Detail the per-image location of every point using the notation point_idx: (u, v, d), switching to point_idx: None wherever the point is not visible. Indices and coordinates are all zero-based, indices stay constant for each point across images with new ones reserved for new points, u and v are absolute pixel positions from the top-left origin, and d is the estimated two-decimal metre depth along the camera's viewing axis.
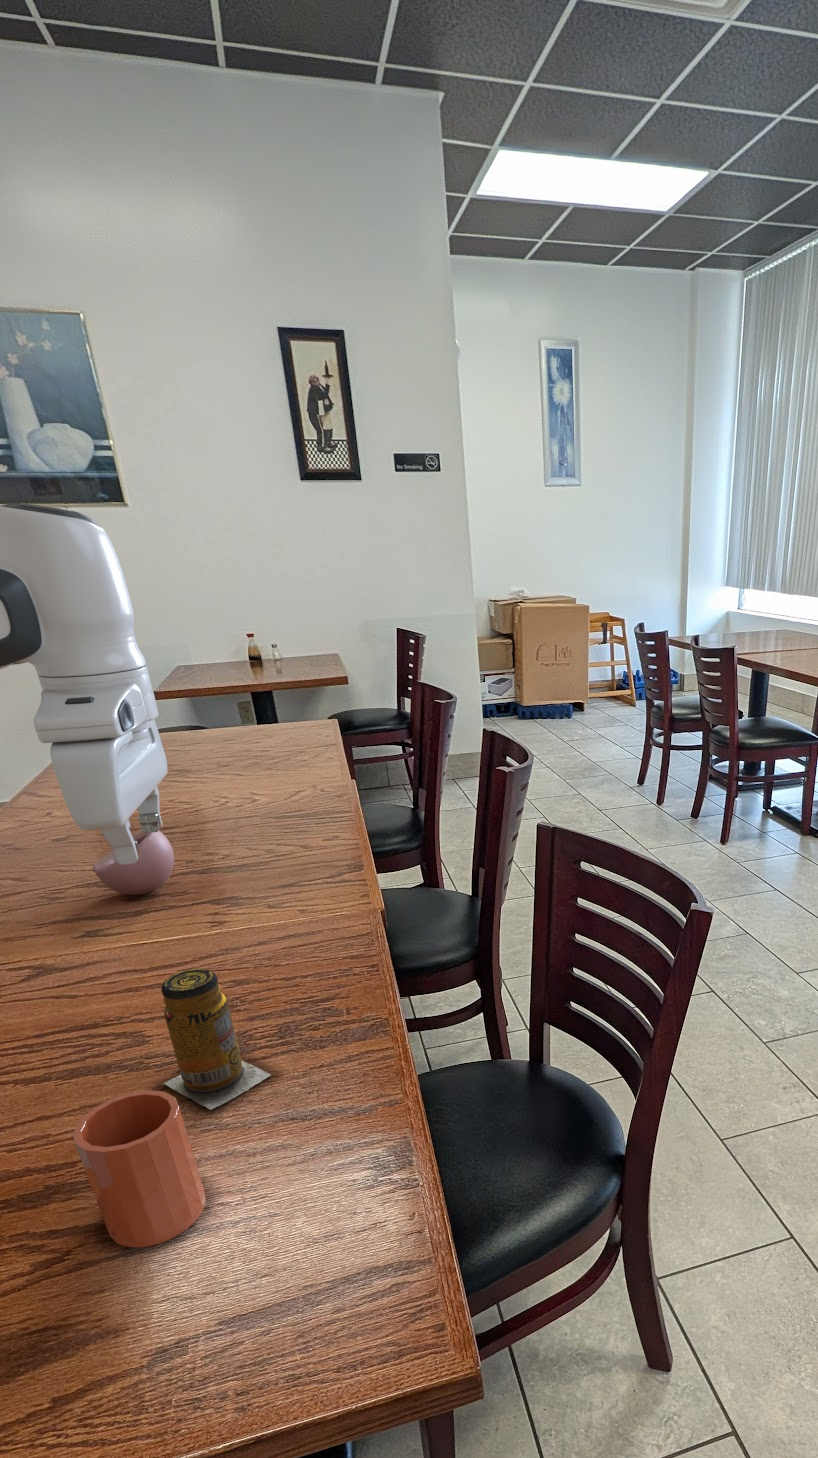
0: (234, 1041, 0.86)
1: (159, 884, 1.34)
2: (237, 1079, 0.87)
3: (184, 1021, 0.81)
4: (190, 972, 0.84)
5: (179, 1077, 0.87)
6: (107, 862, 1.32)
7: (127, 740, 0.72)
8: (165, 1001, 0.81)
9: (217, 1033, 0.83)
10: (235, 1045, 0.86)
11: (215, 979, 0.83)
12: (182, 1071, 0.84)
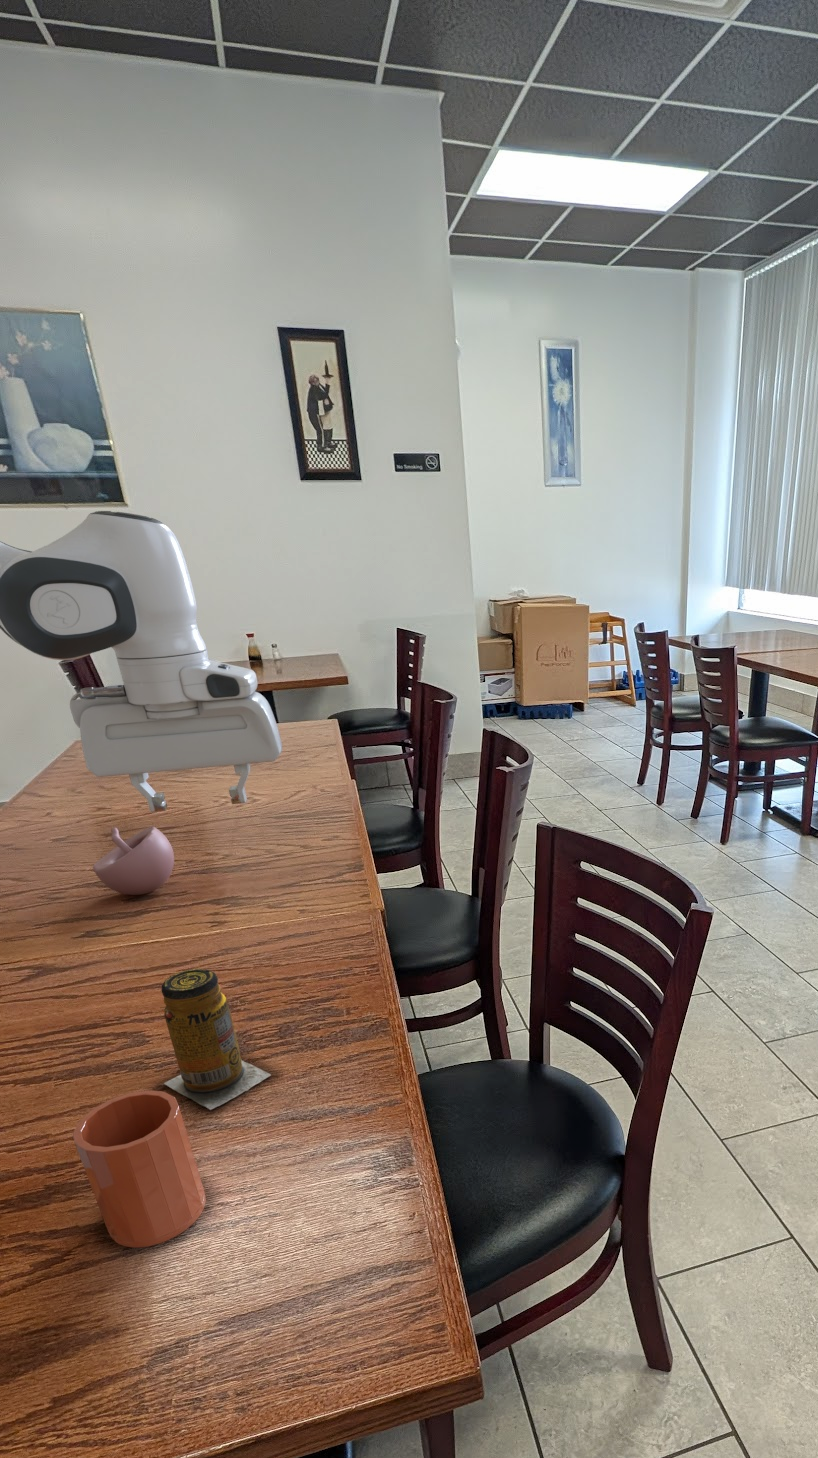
0: (234, 1041, 0.86)
1: (159, 884, 1.34)
2: (237, 1079, 0.87)
3: (184, 1021, 0.81)
4: (190, 972, 0.84)
5: (179, 1077, 0.87)
6: (107, 862, 1.32)
7: None
8: (165, 1001, 0.81)
9: (217, 1033, 0.83)
10: (235, 1045, 0.86)
11: (215, 979, 0.83)
12: (182, 1071, 0.84)
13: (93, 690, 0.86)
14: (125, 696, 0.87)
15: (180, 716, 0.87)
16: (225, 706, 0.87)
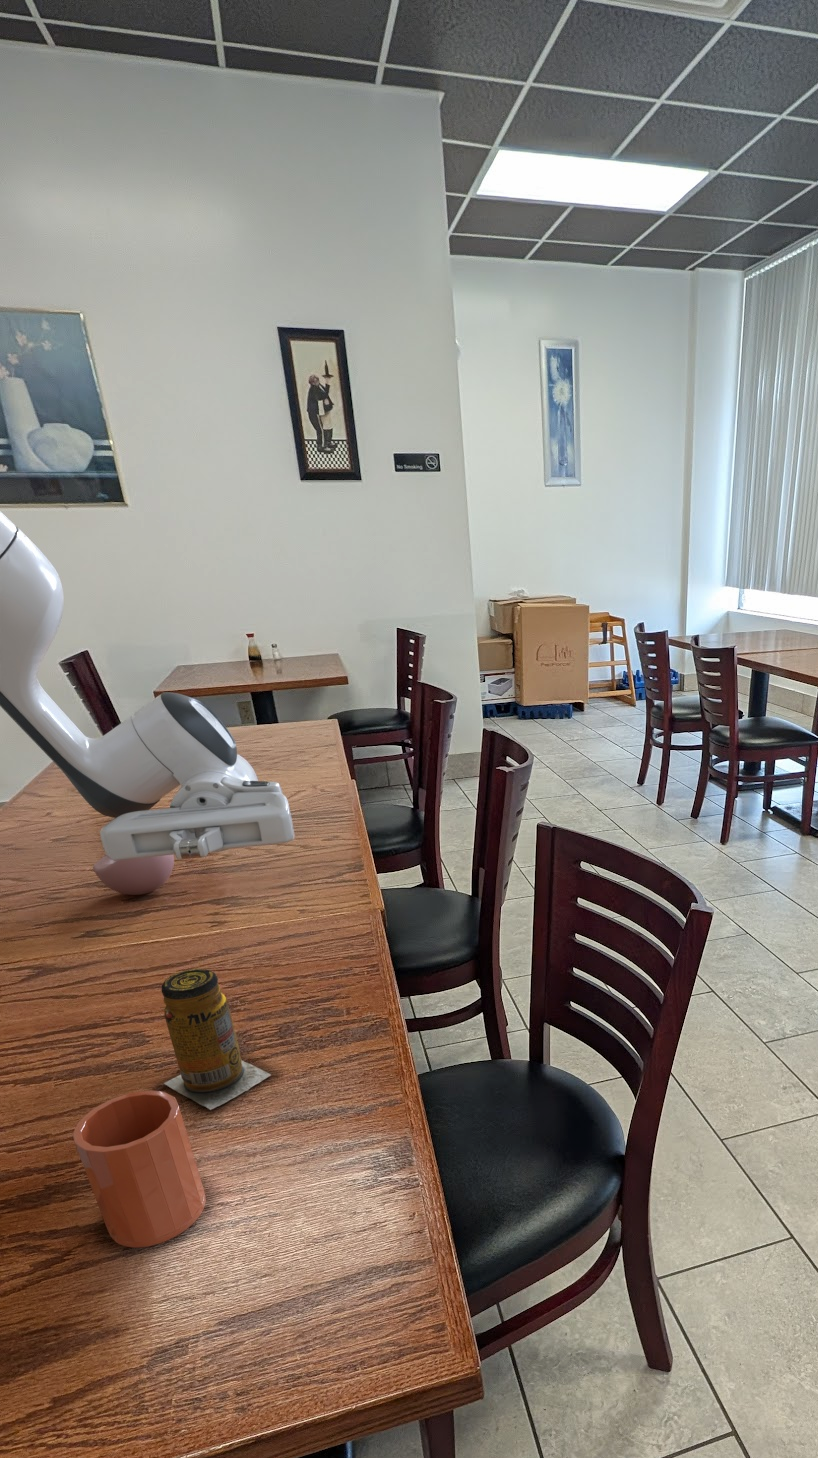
0: (234, 1041, 0.86)
1: (159, 884, 1.34)
2: (237, 1079, 0.87)
3: (184, 1021, 0.81)
4: (190, 972, 0.84)
5: (179, 1077, 0.87)
6: (107, 862, 1.32)
7: None
8: (165, 1001, 0.81)
9: (217, 1033, 0.83)
10: (235, 1045, 0.86)
11: (215, 979, 0.83)
12: (182, 1071, 0.84)
13: None
14: None
15: (209, 796, 0.95)
16: (252, 792, 0.97)
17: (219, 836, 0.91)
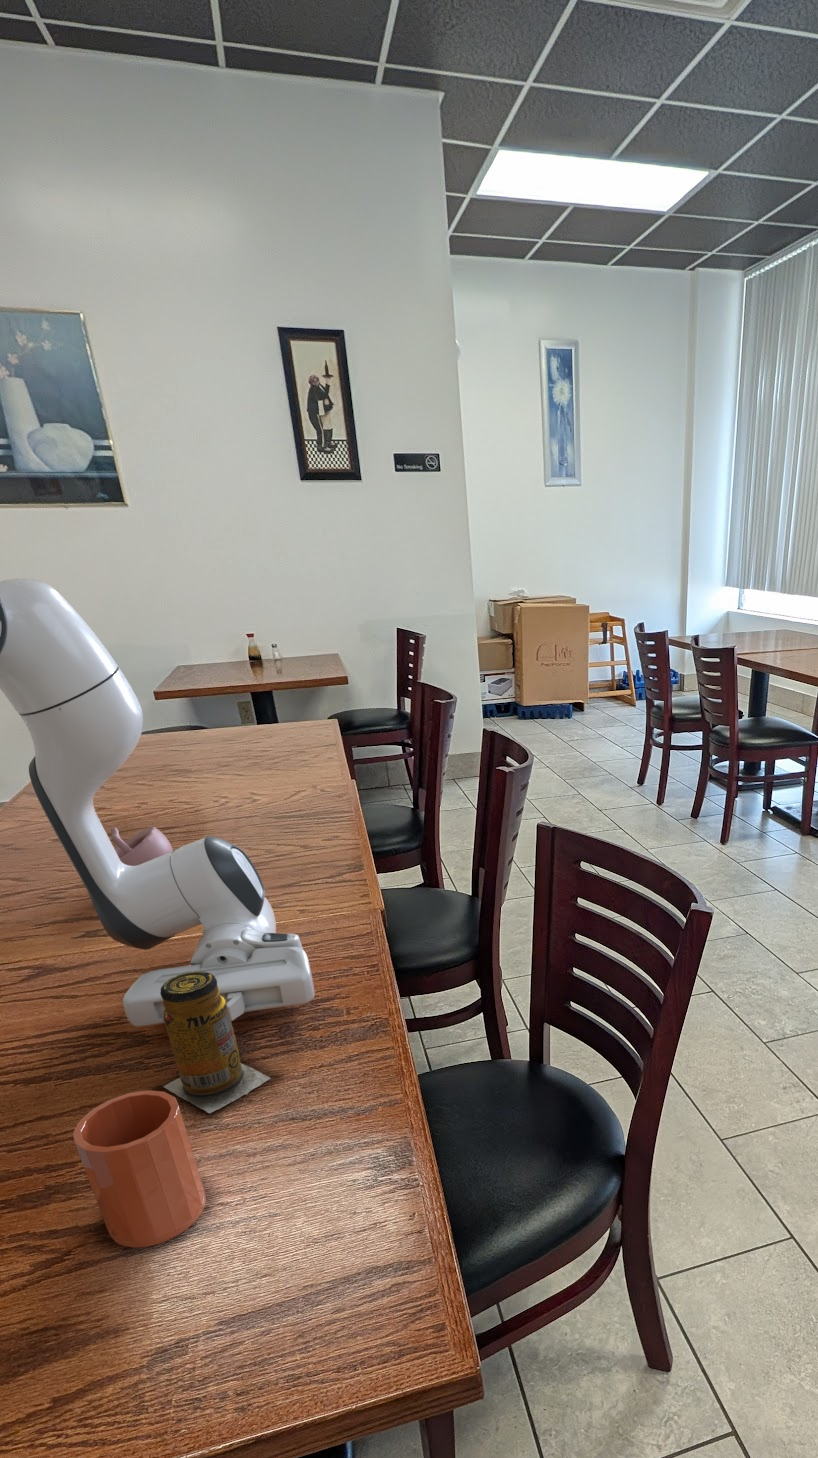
0: (233, 1044, 0.85)
1: None
2: (237, 1082, 0.86)
3: (183, 1024, 0.81)
4: (189, 975, 0.83)
5: (178, 1080, 0.87)
6: None
7: None
8: (164, 1004, 0.81)
9: (216, 1036, 0.83)
10: (234, 1048, 0.86)
11: (214, 982, 0.82)
12: (181, 1074, 0.84)
13: None
14: None
15: (230, 954, 0.96)
16: (272, 949, 0.97)
17: (241, 1002, 0.91)
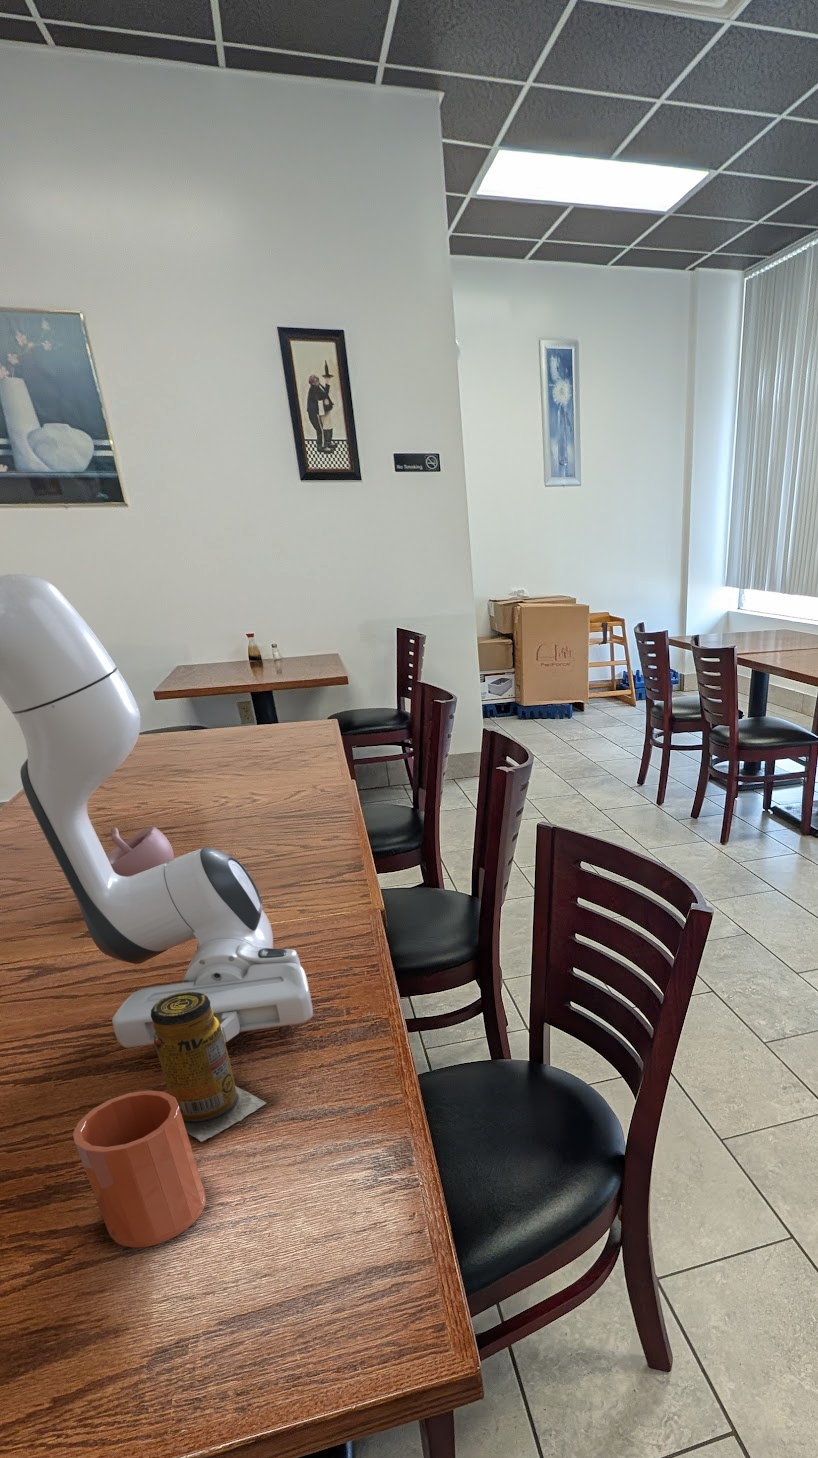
0: (228, 1068, 0.81)
1: None
2: (231, 1107, 0.82)
3: (174, 1048, 0.77)
4: (181, 995, 0.80)
5: None
6: None
7: None
8: (154, 1026, 0.77)
9: (209, 1060, 0.79)
10: (229, 1072, 0.82)
11: (207, 1003, 0.78)
12: None
13: None
14: None
15: (224, 971, 0.92)
16: (268, 965, 0.93)
17: (236, 1022, 0.87)
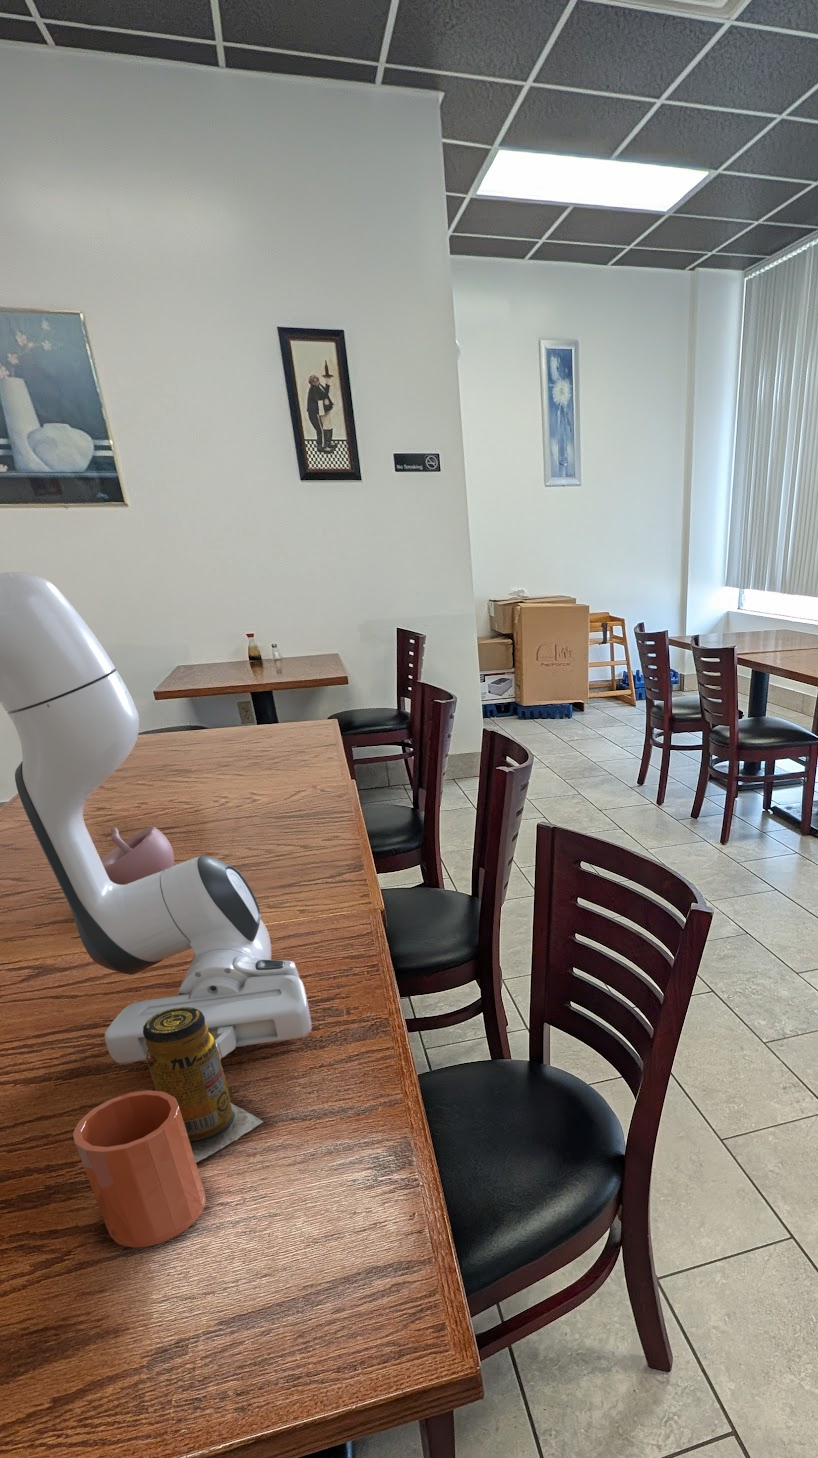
0: (223, 1085, 0.79)
1: None
2: (226, 1126, 0.80)
3: (167, 1067, 0.74)
4: (175, 1011, 0.77)
5: None
6: (107, 862, 1.32)
7: None
8: (147, 1044, 0.75)
9: (204, 1078, 0.76)
10: (224, 1090, 0.79)
11: (202, 1019, 0.76)
12: None
13: None
14: None
15: (221, 984, 0.89)
16: (266, 977, 0.91)
17: (232, 1037, 0.85)
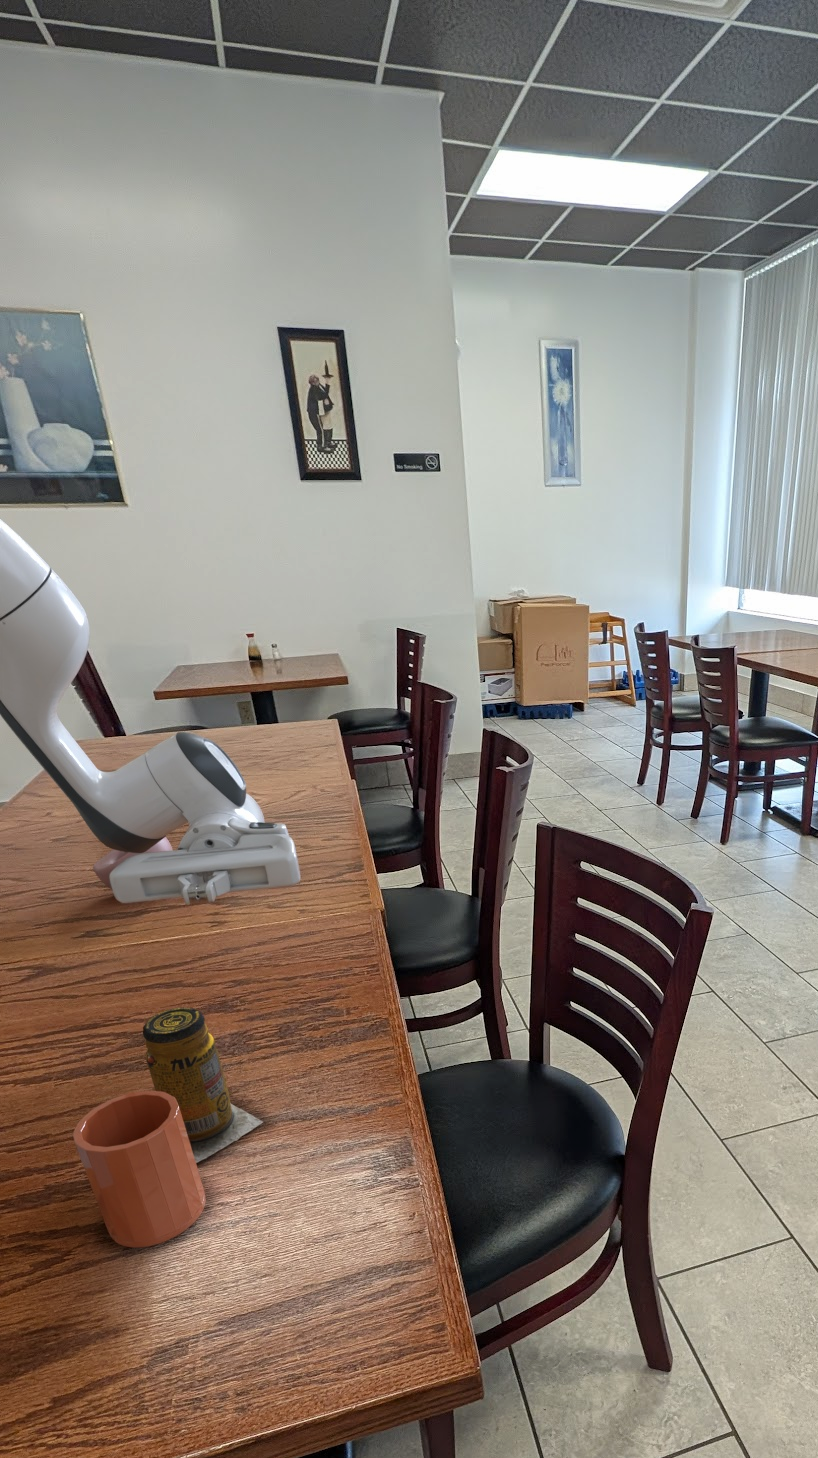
0: (223, 1086, 0.79)
1: None
2: (226, 1126, 0.80)
3: (166, 1067, 0.74)
4: (175, 1011, 0.77)
5: None
6: (107, 862, 1.32)
7: None
8: (146, 1044, 0.74)
9: (204, 1079, 0.76)
10: (224, 1090, 0.79)
11: (201, 1020, 0.76)
12: None
13: None
14: None
15: (217, 838, 0.97)
16: (259, 835, 0.98)
17: (227, 880, 0.92)
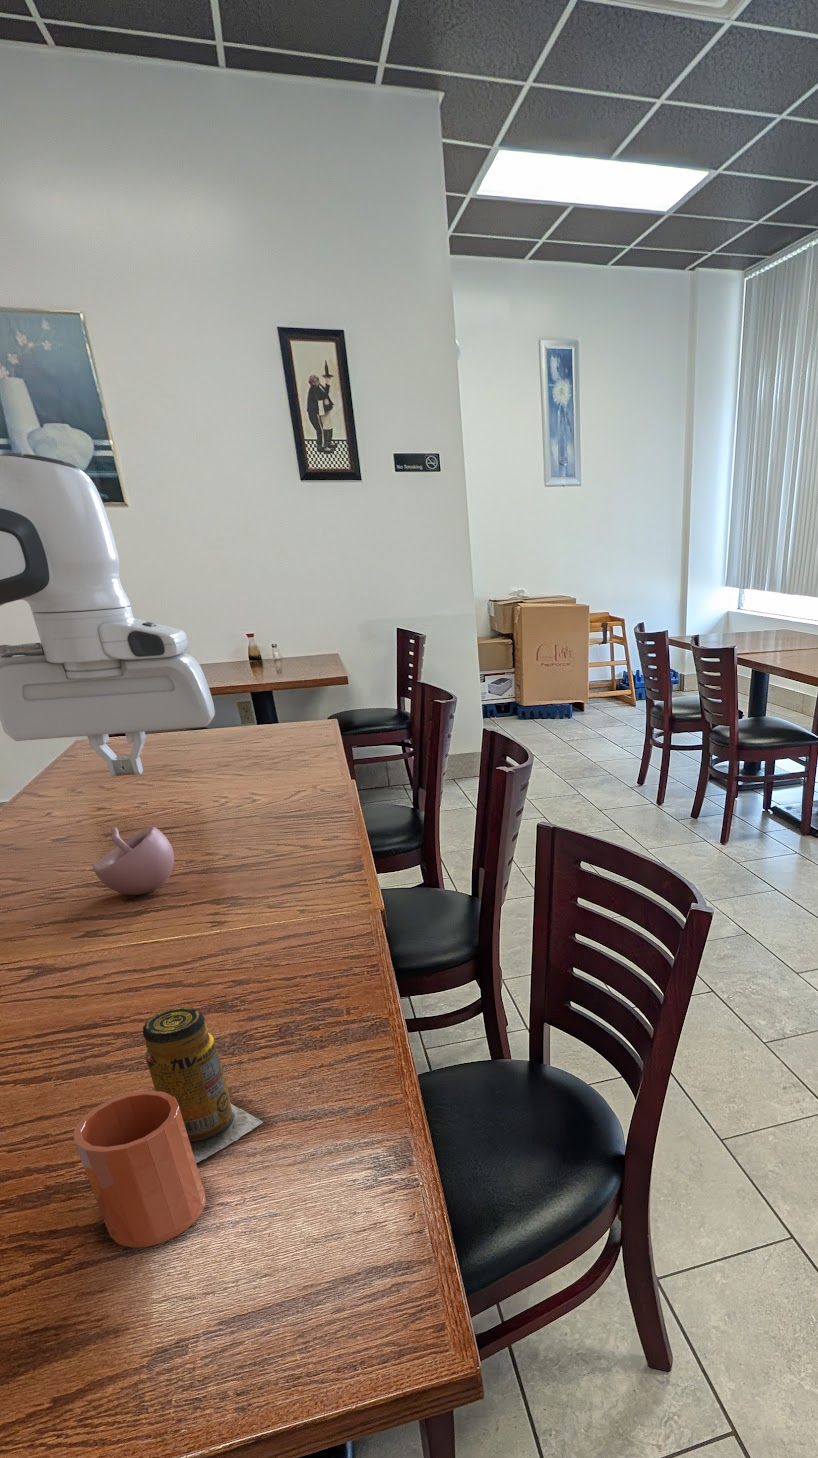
0: (223, 1086, 0.79)
1: (159, 884, 1.34)
2: (226, 1126, 0.80)
3: (167, 1067, 0.74)
4: (175, 1011, 0.77)
5: None
6: (107, 862, 1.32)
7: None
8: (147, 1044, 0.74)
9: (204, 1079, 0.76)
10: (224, 1090, 0.79)
11: (202, 1020, 0.76)
12: None
13: (9, 648, 0.81)
14: (43, 655, 0.82)
15: (101, 676, 0.82)
16: (149, 666, 0.83)
17: (142, 738, 0.88)
